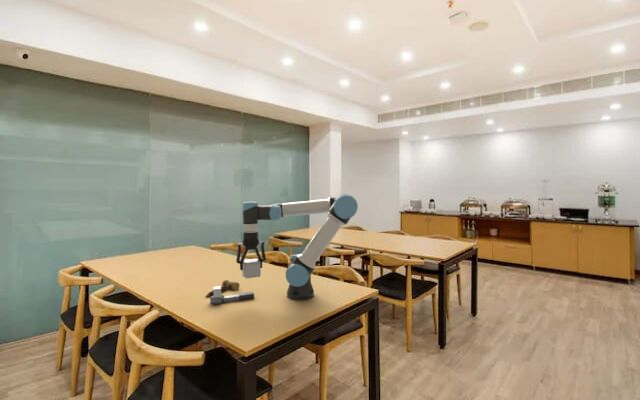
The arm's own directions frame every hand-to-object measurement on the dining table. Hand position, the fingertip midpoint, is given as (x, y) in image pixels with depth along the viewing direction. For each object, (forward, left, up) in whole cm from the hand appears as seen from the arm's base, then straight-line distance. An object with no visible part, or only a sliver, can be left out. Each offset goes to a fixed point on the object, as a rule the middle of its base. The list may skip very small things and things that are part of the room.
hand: (251, 275), depth 168 cm
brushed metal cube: (0, 0, 0) cm, 0 cm away
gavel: (+13, -25, -16) cm, 32 cm away
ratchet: (+9, -8, -15) cm, 19 cm away
